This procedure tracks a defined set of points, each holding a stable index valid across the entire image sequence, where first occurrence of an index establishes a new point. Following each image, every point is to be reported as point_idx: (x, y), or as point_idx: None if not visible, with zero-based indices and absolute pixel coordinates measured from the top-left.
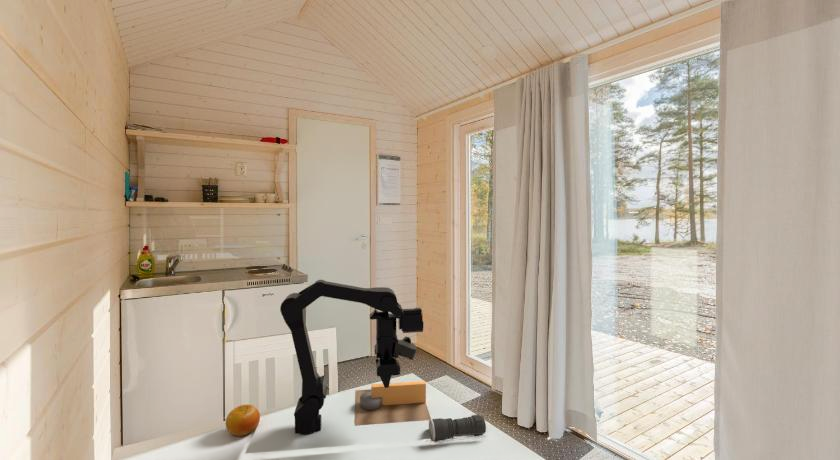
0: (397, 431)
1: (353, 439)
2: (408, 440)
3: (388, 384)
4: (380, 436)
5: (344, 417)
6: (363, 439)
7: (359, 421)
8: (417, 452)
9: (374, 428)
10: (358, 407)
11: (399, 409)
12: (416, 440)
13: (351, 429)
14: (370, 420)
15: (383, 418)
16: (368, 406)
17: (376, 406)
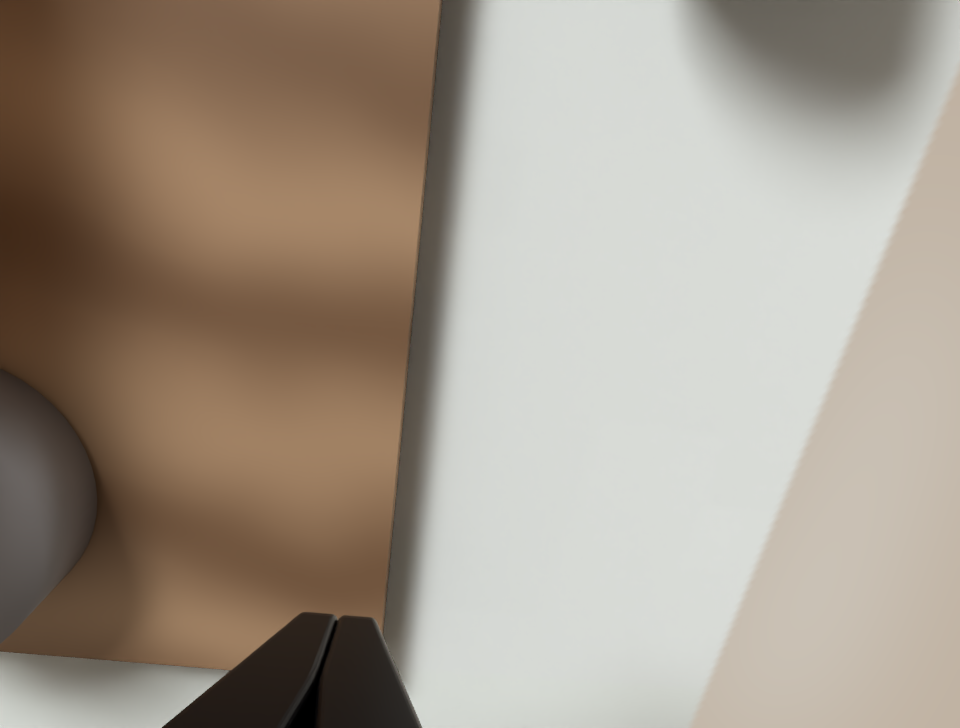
0: (498, 261)
1: (520, 666)
2: (697, 183)
3: (399, 683)
4: (541, 442)
5: (123, 713)
6: (545, 590)
7: None
8: (928, 141)
9: None
10: None
11: (106, 162)
12: (726, 95)
13: None
14: (312, 533)
15: (298, 395)
16: (69, 556)
17: (65, 460)
